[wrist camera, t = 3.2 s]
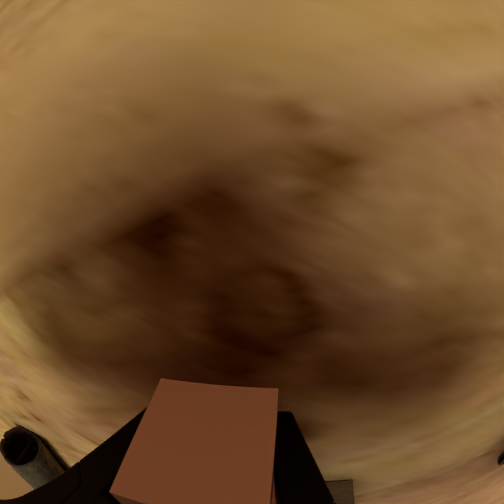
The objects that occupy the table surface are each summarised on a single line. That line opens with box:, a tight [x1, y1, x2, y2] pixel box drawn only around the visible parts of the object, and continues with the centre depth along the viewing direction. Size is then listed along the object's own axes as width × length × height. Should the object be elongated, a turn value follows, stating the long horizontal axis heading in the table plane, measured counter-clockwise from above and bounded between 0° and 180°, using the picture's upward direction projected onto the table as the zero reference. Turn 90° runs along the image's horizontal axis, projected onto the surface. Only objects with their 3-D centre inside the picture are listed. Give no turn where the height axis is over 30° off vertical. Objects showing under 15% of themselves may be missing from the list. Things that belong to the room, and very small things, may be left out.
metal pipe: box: [0, 426, 65, 489], centre depth 17 cm, size 18×7×6 cm, turn 2°
